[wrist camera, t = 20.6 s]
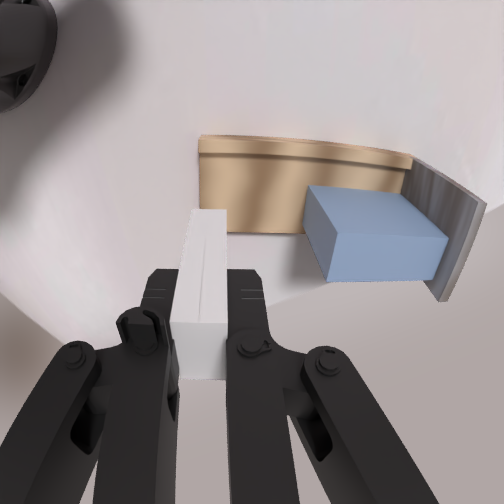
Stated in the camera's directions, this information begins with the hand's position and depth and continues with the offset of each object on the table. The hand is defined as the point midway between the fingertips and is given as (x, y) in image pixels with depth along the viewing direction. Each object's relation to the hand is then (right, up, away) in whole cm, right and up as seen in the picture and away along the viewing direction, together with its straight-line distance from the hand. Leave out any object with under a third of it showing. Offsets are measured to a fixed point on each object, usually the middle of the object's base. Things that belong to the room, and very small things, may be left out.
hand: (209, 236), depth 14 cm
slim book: (+13, +4, +18) cm, 23 cm away
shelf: (+8, +6, +18) cm, 21 cm away
